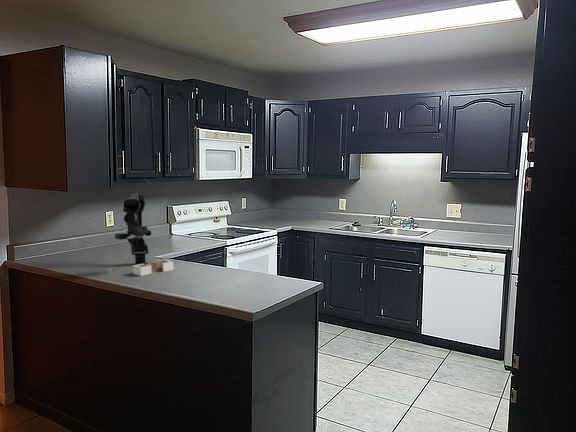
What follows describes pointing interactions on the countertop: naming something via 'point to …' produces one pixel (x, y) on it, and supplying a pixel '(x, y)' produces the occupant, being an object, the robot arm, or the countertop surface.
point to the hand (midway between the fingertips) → (134, 250)
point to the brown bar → (155, 266)
